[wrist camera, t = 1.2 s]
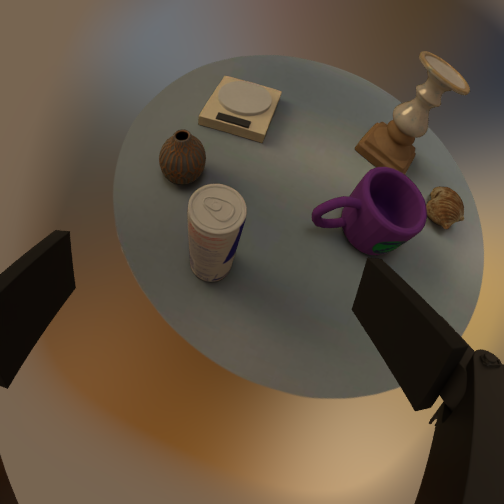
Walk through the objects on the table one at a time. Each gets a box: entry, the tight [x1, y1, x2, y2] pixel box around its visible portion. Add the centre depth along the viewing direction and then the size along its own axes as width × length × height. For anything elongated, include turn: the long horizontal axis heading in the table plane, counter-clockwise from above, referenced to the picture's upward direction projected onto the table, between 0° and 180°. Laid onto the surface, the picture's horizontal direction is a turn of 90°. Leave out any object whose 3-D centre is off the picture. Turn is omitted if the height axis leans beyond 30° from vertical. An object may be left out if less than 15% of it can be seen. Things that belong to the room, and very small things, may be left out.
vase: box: [159, 130, 206, 184], centre depth 42 cm, size 7×7×9 cm
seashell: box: [426, 187, 464, 229], centre depth 50 cm, size 9×7×8 cm
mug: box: [312, 167, 427, 255], centre depth 43 cm, size 17×11×10 cm, turn 97°
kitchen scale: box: [198, 76, 282, 143], centre depth 53 cm, size 12×14×3 cm
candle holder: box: [355, 52, 470, 175], centre depth 46 cm, size 11×11×24 cm
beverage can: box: [188, 184, 247, 282], centre depth 35 cm, size 6×6×15 cm
